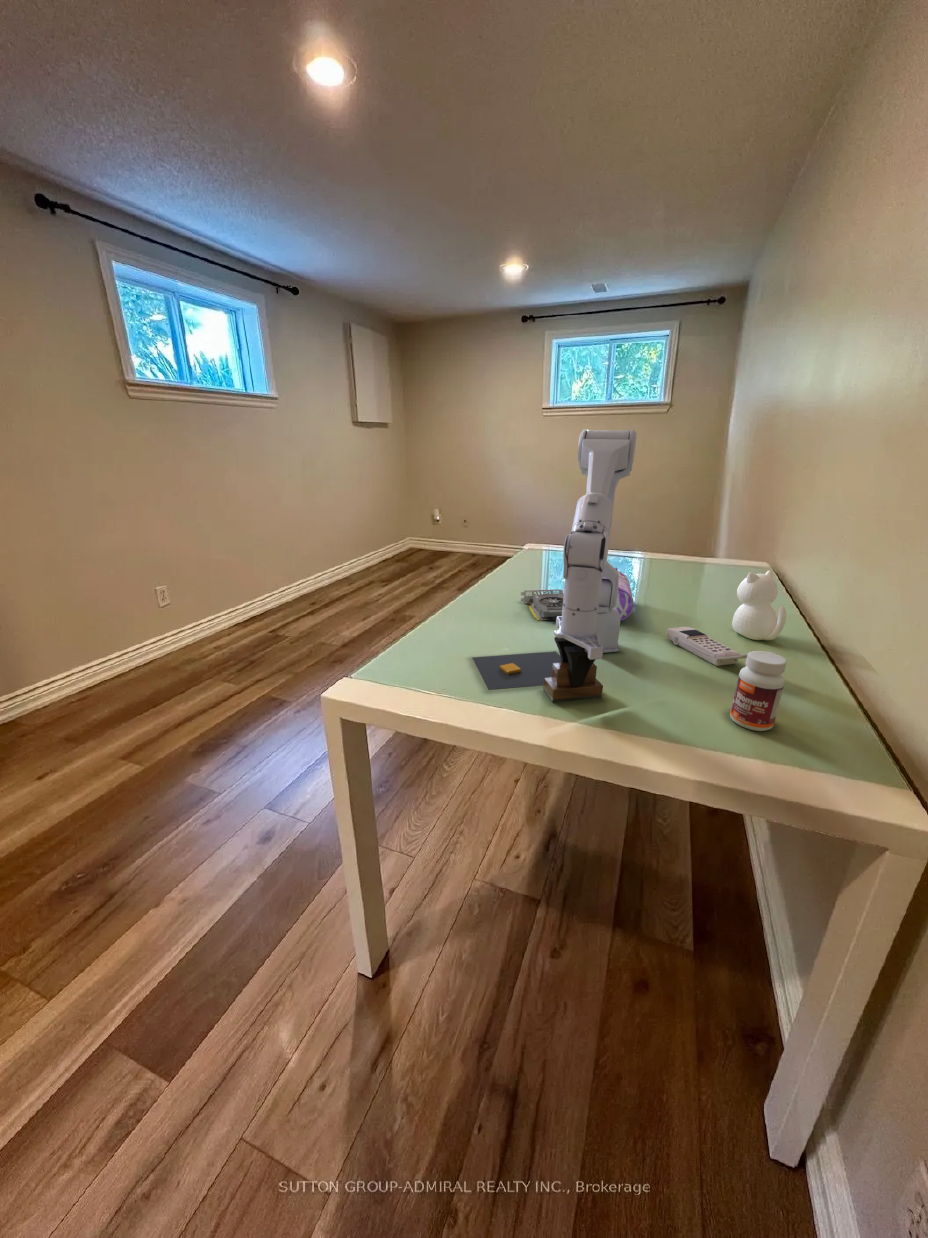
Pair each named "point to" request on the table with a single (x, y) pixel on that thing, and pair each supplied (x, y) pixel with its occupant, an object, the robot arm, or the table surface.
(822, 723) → the table surface
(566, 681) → the brown stepped block
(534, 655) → the mat
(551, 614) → the graphics card
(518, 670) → the mustard square tile
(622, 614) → the pencil case
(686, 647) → the mobile phone
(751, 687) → the pill bottle
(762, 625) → the cat figurine
